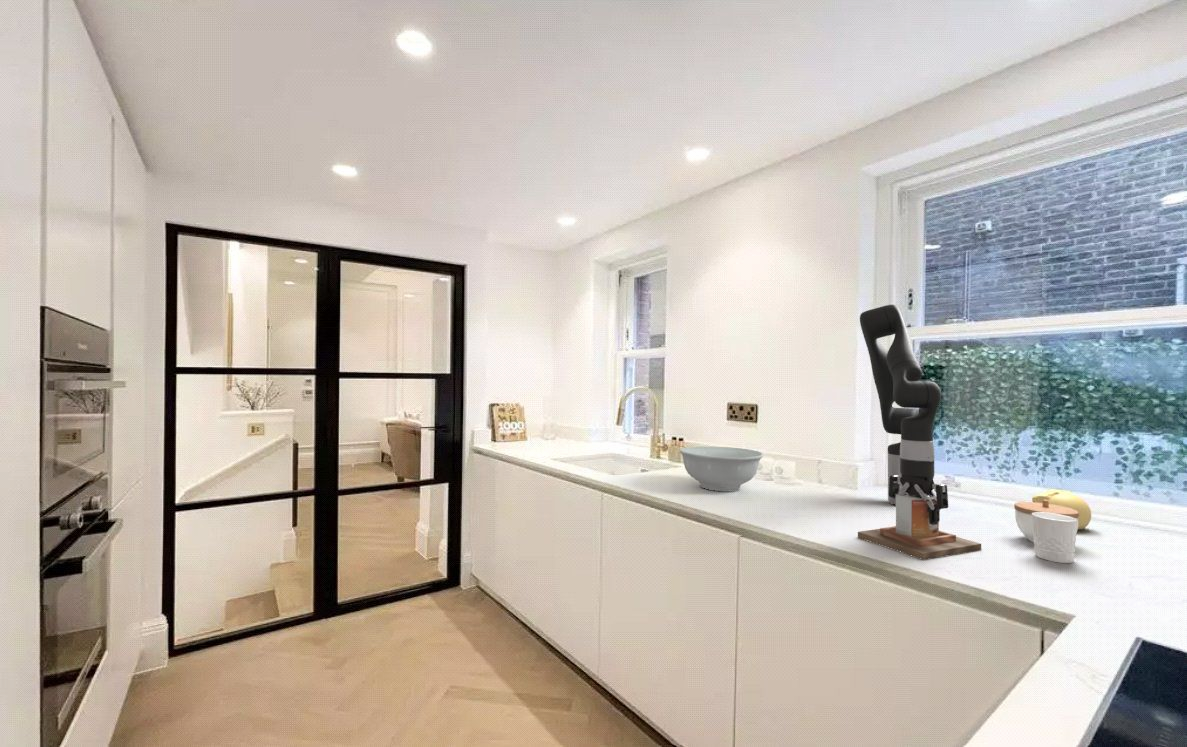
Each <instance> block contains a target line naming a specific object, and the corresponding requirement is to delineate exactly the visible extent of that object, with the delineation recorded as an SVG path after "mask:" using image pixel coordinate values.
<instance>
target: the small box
mask: <svg viewBox="0 0 1187 747" xmlns="http://www.w3.org/2000/svg"><path fill="white" fill-rule="evenodd" d="M928 497H929V495H928ZM929 509H930V507H929V506H928V504H927V503H926V502H925V501H924V500H923V499H922V498H919V497H916V496H910V495H903V496H902V495H896V505H895V526H896V532H898V533H901V534H904V535H907V536H911V537H914V538H917V539H924V538H930V537H937V536H939V531H940V530H939V526H940V525H939V524H940V521H939V522H938V524H935V525H932V524H930V523H929Z"/></svg>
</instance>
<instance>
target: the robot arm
mask: <svg viewBox="0 0 1187 747" xmlns="http://www.w3.org/2000/svg"><path fill="white" fill-rule="evenodd" d="M859 323H860V324H859V326H860V328H861V331H862V335H863V338H864V341H865V345H866V348H867V351H868V356H869V360H870V365H871V371H872V375H873V376H872V377H873V380H874V381H873V382H874V385H875V388H876V391H877V395H878V400H879V401H878V402H879V405H880V406H879V407H880V408H879V409H880V414H881V422H882V427H883V429H884V431H885V432H886V433H887V434H892V435H900V441H899V442H896V443H891V444H889V445H888V446H887V502H889V503H888V504H890V503H892V504H891V505H893V504H895V505H894V506H896V495H902V496H903V495H910V496H916V497H919V498H922V499H923V500H924V501H925V502H926V503H927V504H928V506H929V507H930V509H929V523H930V524H932V525H935V524H938V522H939V523H940V516H941V515H940V514H941V513H940V511H941V510H943V509H948V508H949V496H948V485H947V484H946V483H938V484H937V483H935V481H934V477H935V446H934V422H935V420H936V419H935V418H936V414H937V411H938V409H939V407H940V406H939V405H940V403H941V400H942V391H941V388H940V386H939V385H938V384H937V383H936V382H934V381H929V380H927V381H926V380H925V381H923V380H921V379H922V377H923V371H922V368H921V366H920V364H919V362H918V360H917V358H916V356H915V353H914V351H913V347H912V345H911V341H910V336H909V334H908V333H909V332H908V330H907V327H906V323H905V320H904V318H903V315H902V312H901V310H900V309H899V307H898V306H896V305H895V304H887V305H883V306H880V307H875V308H872V309H867V310H865V311H863V312H861V313H860V315H859ZM893 335H894V338H893V340H892V343H891V345H890V346H889V349H886V348H885V347H884V346H883V345H882V344H881V343H880V342H879V340H878V339H880V338H881V339H882V338H885V337H889V336H893ZM894 403H895V404H896V405H897V406H898V407H893V404H894ZM918 409H920V410H918ZM934 492H935V493H934ZM928 496H929V497H928Z"/></svg>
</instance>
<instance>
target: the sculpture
mask: <svg viewBox="0 0 1187 747" xmlns="http://www.w3.org/2000/svg"><path fill="white" fill-rule="evenodd" d="M1031 500H1032V501H1031V502H1035V503H1043V502H1042V500H1048V501H1049V504H1052V505H1058V506H1063V507H1068V508H1071V509H1074V510H1077V511H1078V512H1079V517H1078V530H1083V529H1085V528H1086V527H1088V525H1089V524H1090V523H1091V519H1092V511H1091V508H1090V506H1089V504H1088V503H1087V502H1086V501H1085V500H1084V499H1083V498H1082V497H1081V496H1078V495H1076V494H1074V493H1072V492H1071V491H1070V490H1063V489H1059V490H1058V489H1052V488H1050V489H1048V490H1046V491H1045V492H1042V493H1039V494H1035V495H1034V496H1033V495H1032V499H1031Z"/></svg>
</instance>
